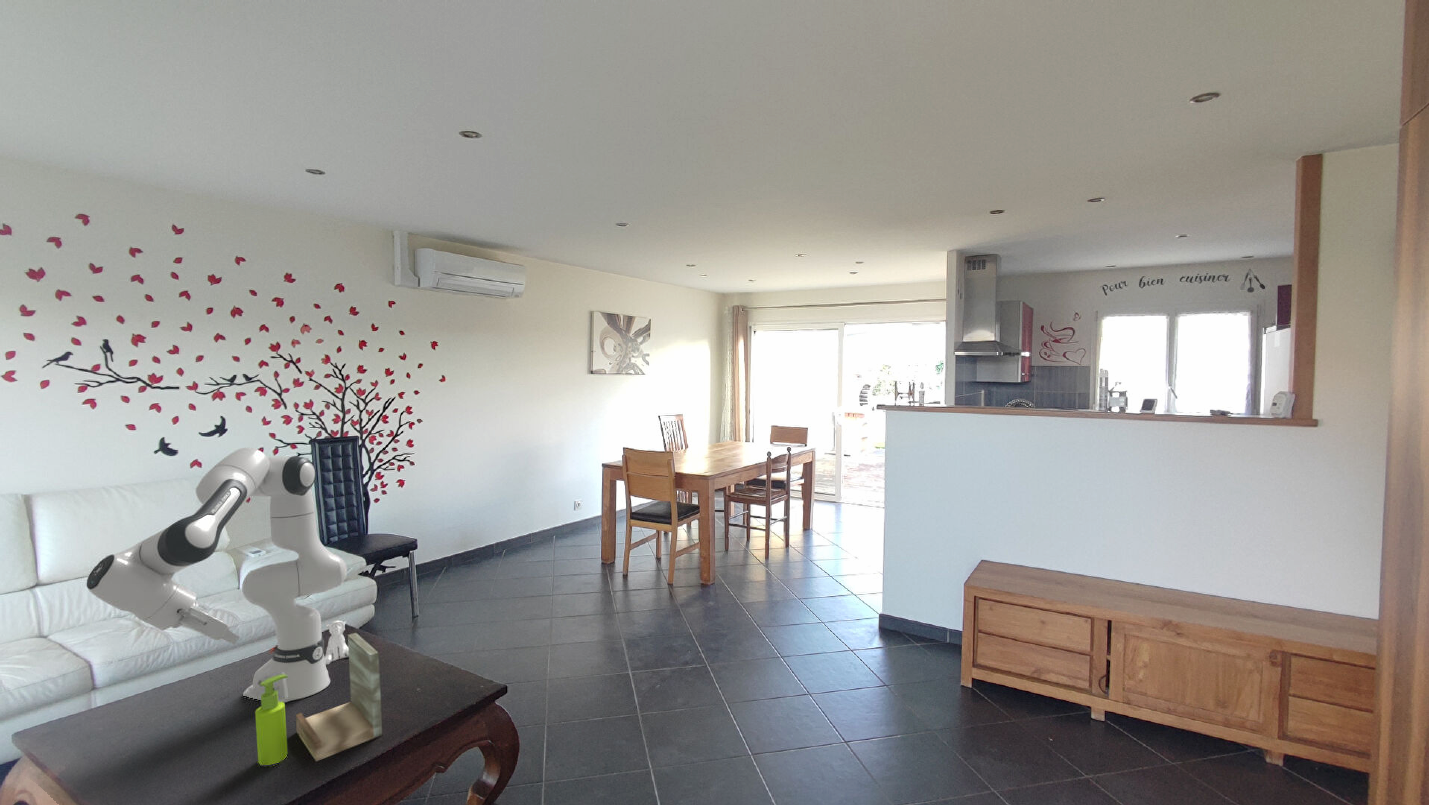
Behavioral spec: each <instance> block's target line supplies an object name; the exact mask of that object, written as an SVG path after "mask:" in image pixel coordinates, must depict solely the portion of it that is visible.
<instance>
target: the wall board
mask: <svg viewBox="0 0 1429 805" xmlns="http://www.w3.org/2000/svg"><path fill="white" fill-rule="evenodd" d="M347 646H348V649H349V656H348V666H349V684H350V686H349V688H350V701H349V702H347V703H344V704H341V705H338V706H335V707H332V708H330V709H327V710H324V711H322V712H318V713H315V714H312V715H310V716H308V717H305V715H303V713H302V712H300V713H298V714H295V722H296V724H295V725H296V733H297V735H298V734H299V735H298V737H299V738H300V740H301V741H302V742H303V744H304V746H305V747H306V749H307V750H308V752H309V753H310V754H311V756H312V757H313V759H314V761H315V762H319V761H320V760H323V759H326V758H328V757H331V756H333V755H336V754H338V753H341V752H343V751H345V750H348V749H351V748H353V747H356V746H358V745H360V744H361V745H362V743H366V742H368V741H370V740H373V739H375V738H378V737H381V736H382V735H383V726H382V701H381V700H382V699H381V698H382V696H381V680H380V678H381V677H380V660H379V659H380V658H379V656H380V655H379V652H378V651H377V650H376V649H375V648H374V647H373V646H372V645H371V644H370V643H368V642H367V641H366V640H365V639H364V638H362V637H361V635H359V634H358V633H357V632H354V633H353V632H352V633H350V634H347Z"/></svg>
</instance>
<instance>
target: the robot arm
mask: <svg viewBox="0 0 1429 805" xmlns="http://www.w3.org/2000/svg"><path fill="white" fill-rule="evenodd" d="M315 467H316V466H315V465H314V464H313V462H312V461H311V460H310V459H309V458H306V457H303V456H297V455H296V456H295V455H293V456H282V455H281V456H278V455H276V456H275V455H274V456H267V455H266V454H265V453H264V452H263V451H261V450H260V449H257V448H253V447H242V448H238V449H237V450H235V451H233V452H231V453H230V454H228V455H226V456H225V457H224V458H222V459H221V460H220V461H218V463H216V464H215V465H214V466H213V467H211V469H210V470H209V471H207V473H206V474H204V476H203V477H202V479H201V480H200V481H199V483H198V485H197V486H196V488H195V494H196V497H197V500H198V501H199V502H200V503H201V505H200V507H199V508H198V509H197V510H196V511H195V512H194V513H193V514H191V515H190V516H187V517H183V518H181V519H179V520H177V521H175V522H174V523H173V524H170V525H169V526H168V527H165V528H164V529H162V530H160V531H158V532H157V533H155V534H153V535H151V536H149V537H147V538H146V539H143V540H141V541H140V542H137V544H135V545H133V546H132V547H129V548H126V549H125V550H123V551H120V552H117V553H113V554H109V555H106V556H105V557H104V558H102V559H101V560H100V561H99V562H98V563H97V564H96V565H95V566H94V567H93V568H92V570H91V571H90V573H89V575H88V577H87V579H86V588H87V589H88V590H89V592H90V593H91V594H92V595H93V596H95V597H96V598H98V599H100V601H103V603H104V602H105V603H107V604H108V605H109V606H112V607H113V608H115V609H117V610H120V611H123V612H128V613H131V614H133V615H134V616H135V617H136V618H137V619H138V620H140V621H142V622H144V623H146V624H148V625H150V626H152V627H155V628H156V629H158V630H161V631H165V630H168V629H170V628H172V629H177V628H180V627H183V628H187V629H189V630H192V631H194V632H197V633H199V634H200V635H203V636H205V637H208V638H210V639H211V640H214V641H220V640H223V641H226V642H228V643H231V644H233V645H234V644H236V643H237V642H238V641H239V640H240V636H239V635H238V634H236V633H234V632H233V631H231V630H229V629H230V628H231V625H230V624H228V623H227V622H225V621H223V620H221V619H219V618H217V617H215V616H213V615H211V614H210V613H207V612H206V611H203V610H202V609H198V607H199V601H197V600H196V599H197V596H198V595H197V592H194V591H193V590H190V589H188V588H186V587H185V586H182V585H181V584H180V583H177V582H176V581H174V580H173V577H174V575H176V574H177V573H178V572H180V571H182V570H184V569H186V568H188V567H190V566H192V565H194V564H198V563H200V562H202V561H205V560H207V559H209V558H210V557H211V556H212V555H213V554H214V553H215V551H216V550H217V547H218V545H219V541H220V537H221V533H222V531H223V530H224V527H225V526H226V525H227V523H228V522H229V521H230V520H231V519H232V518H233V515H234V514H235V513H236V512H237V510H238V509H239V508H240V507H241V506H242V505H243V504H245V502H246V501H247V500H248V499H249V498H250V497H266V498H267V497H270V500H269V519H270V520H269V521H270V522H269V523H270V536H271V537H270V538H271V542H272V544H273V545H275V546H276V547H277V548H279V549H282V550H286V551H290V552H295V553H296V554H297V555H298V558H297V559H295V560H289V561H283V562H282V561H281V562H277V563H271V564H267V565H264V566H260V567H258V568H255V569H253V570H252V569H251V570H250V571H249V572H247V574H246V575H245V577H244V579H243V581H242V584H241V591H242V594H243V597H244V598H245V600H246V601H247V602H249V603H251V604H252V605H254V606H258V607H260V608H261V609H263V610H265V611H266V612H267V614H269V615H270V617H271V619H272V621H273V623H274V628H275V633H276V641H277V642H276V645H275V646H274V647H272V648H270V649H269V653H268V654H272V653H273V655H272V657H271V658H270V659H269V660H268V661H267V662H266V663H264V664H263V665H262V666H261V667H259V668H258V669H257V670H256V671H255V673H254V675H253V679H252V684H251V685H250V686H248V687H247V688H246V689H245V690H244V691H243V694H242V697H243V696H247V697H249V698H248V699H250V698H253V699H252V700H254V699H258V700H261V695H262V694H264V693H265V687H264V686H261V685H260V683H261V682H263V681H265V680H267V679H269V678H271V677H274V676H277V675H281V674H284V675H287V676H288V677H287V678H284V679H281V680H278V681H276V682H274V683H273V690H275V691H278V702H284V703H288V702H291V701H295V700H301V699H304V698H306V697H309V696H312V695H316V694H317V693H319V692H321V691H322V690H324V689H326V688H327V687H328V686H330V683H331V678H330V676H329V671H328V669H327V664H325V659H324V656H325V654H324V651H325V650H324V649H325V640H324V636H323V635H322V619H321V617H322V616H321V614H320V612H319V610H317V609H316V608H313V607H311V606H307V605H302V604H298V603H297V602H296V599H298V598H301V597H307V596H311V595H316V594H317V595H318V594H321V593H326V592H328V591H330V590H332V589H333V590H334V589H335V588H338V587H340V586H342V584H343V583H344V581H345V580H346V577H347V573H348V570H347V564H346V562H345V561H344V560H343V559H342V557H340V556H339V555H338V554H335V553H333V552H331V551H330V550H329V549H327V547H325V546H324V544H323V543H322V542H321V539H320V537H319V534H318V529H317V521H316V508H315V507H316V506H315V501H314V494H313V492H312V487H313V485H314V483H315V482H316V479H317V478H316V476H317V475H316V474H317V471H316V468H315ZM258 700H257V701H258Z"/></svg>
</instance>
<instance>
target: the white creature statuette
mask: <svg viewBox="0 0 1429 805" xmlns="http://www.w3.org/2000/svg"><path fill="white" fill-rule="evenodd" d="M346 622H347V620H345V621H342V620H335V621H332V622H331V623H330V624H326V625H325V626H326V627H327V628H328V630H329V633H330V635H331V636H330V637H328V643H327V647H326V651H325V654H324V659H325V664H326V666H328V665H329V664H331V663H332V662H335V661H338V660H341V659H344V658H349V649H348V644H346V639H345V636H344V634H343V633H344V631H345V630H346V628H345V626H346Z"/></svg>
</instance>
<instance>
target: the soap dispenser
mask: <svg viewBox="0 0 1429 805" xmlns="http://www.w3.org/2000/svg"><path fill="white" fill-rule="evenodd" d="M287 677H288V676H287V675H284V674H281V675H277V676H274V677H271V678H269V679H267V680H265V681H263V682H261V683H260V685H261V686H264V687H265V693H264V694H262V695H261V701H260V703H261V706H259V707H258V708H257V709H256V710H255V712H254V714H255V730H256V731H255V732H256V748H257V749H256V750H257V764H258V763H259V764H260V765H271V764H275V763H279V762H280V761H282V760H284V759H285V758H286V757H287V758H288V756H287V754H288V740H287V739H288V738H287V737H288V736H287V721H286V720H287V719H286V718H287V717H286V704H285V703H286V702H285V703H284V702H278V691H275V690H273V683H274V682H276V681H278V680H281V679H284V678H287ZM287 758H286V759H287ZM286 759H285V760H286ZM285 760H284V761H285ZM282 762H283V761H282ZM280 763H281V762H280ZM280 763H279V764H280Z"/></svg>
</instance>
